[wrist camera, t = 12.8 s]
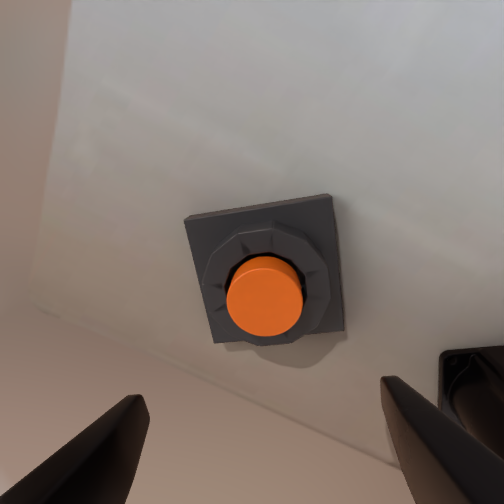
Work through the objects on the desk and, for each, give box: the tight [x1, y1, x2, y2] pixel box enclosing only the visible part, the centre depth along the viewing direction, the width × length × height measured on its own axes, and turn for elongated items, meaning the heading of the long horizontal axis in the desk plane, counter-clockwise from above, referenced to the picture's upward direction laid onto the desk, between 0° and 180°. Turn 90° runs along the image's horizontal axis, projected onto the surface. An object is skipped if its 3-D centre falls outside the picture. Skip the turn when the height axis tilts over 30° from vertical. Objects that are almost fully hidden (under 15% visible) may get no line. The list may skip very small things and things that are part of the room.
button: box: [227, 256, 303, 336], centre depth 15 cm, size 4×4×2 cm
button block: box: [184, 194, 344, 346], centre depth 17 cm, size 8×8×3 cm
